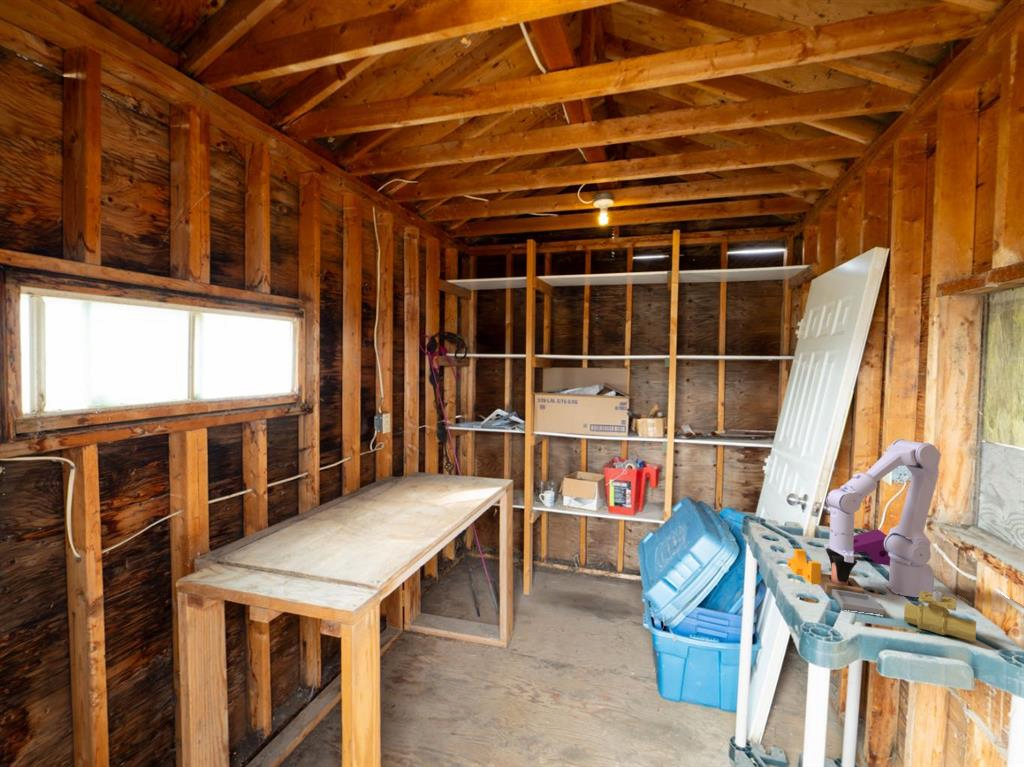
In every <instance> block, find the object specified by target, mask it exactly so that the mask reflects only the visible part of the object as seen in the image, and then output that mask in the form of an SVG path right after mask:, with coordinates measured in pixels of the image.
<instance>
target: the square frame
mask: <svg viewBox="0 0 1024 767" xmlns="http://www.w3.org/2000/svg"><path fill="white" fill-rule="evenodd" d="M819 586H820V587H821V588H822V589H823V591H824V592H825V594H827V595H832V589H836V590H842V591H849V592H855V593H861V594H865V592H866V591H865V589H864V588H863V587H862V586H861V585H860V584H859V583H858V582H857V581H856V579H855V578H854V577H849V578H848V586H846V585H840V584H833V583H832V582H831V574H829V573H828V574H827V573H824V572H823V573H822V572H821V581H820V585H819Z"/></svg>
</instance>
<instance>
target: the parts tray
mask: <svg viewBox="0 0 1024 767" xmlns="http://www.w3.org/2000/svg"><path fill="white" fill-rule="evenodd" d="M831 598H833V600H834V601H835V602H836V604H837V605H838V607H839V608H840V609H841V611H843V610H847V611H848V610H849V611H857V612H864V613H873V614H880V615H884V616H885V609H884V608H883V607H882V606H881V605H880V604H879V603H878V602H877V600H876V599H875V598H874V597H873V596H872V594H867V593H866V594H861V593H855V592H849V591H842V590H836V589H832V594H831ZM847 611H846V612H847ZM843 612H844V611H843Z"/></svg>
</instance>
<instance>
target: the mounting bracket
mask: <svg viewBox="0 0 1024 767" xmlns="http://www.w3.org/2000/svg"><path fill="white" fill-rule="evenodd" d="M887 536H888V534H887V535H886V534H885V533H884V532H883V531H881V530H880V529H878V528H877V529H873V530H870V531H866V532H862V533H858V534H854V542H853V549H854V554H853V555H856V554H857V553H861V552H862V553H864V554H865V555H866V556H868V558H869V559H871V561H873V562H874V563H875V564H877V565H881V564H883V565H884V566H890V556H888V552H887V551H886V549H885V548H884V540H885V538H886V537H887ZM828 549H829V548H828Z"/></svg>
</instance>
